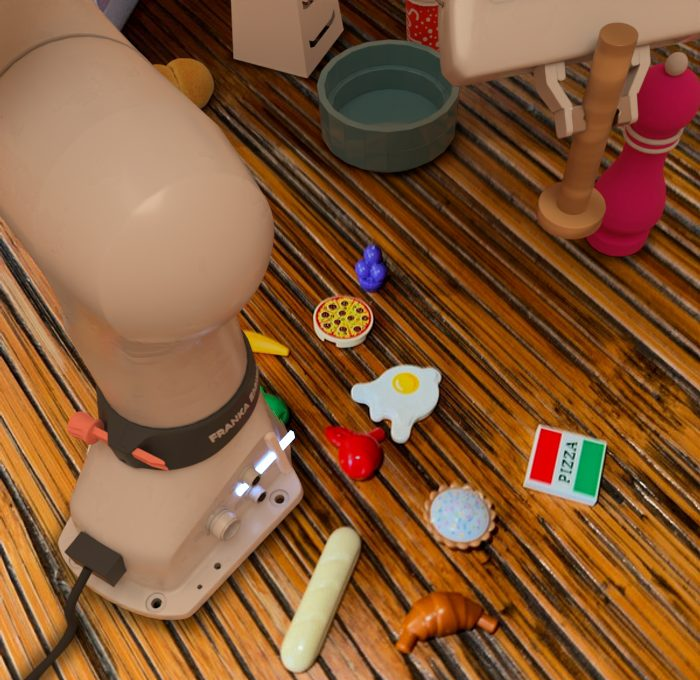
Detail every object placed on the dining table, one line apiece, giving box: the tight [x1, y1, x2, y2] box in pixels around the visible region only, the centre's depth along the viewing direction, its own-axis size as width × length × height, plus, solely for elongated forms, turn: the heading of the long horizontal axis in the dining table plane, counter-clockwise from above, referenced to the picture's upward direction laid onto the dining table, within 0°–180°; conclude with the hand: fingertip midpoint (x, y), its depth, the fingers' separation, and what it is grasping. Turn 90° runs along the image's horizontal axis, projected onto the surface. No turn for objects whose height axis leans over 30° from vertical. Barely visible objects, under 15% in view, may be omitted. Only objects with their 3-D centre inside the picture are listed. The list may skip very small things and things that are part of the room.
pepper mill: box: [585, 51, 700, 257], centre depth 71 cm, size 7×7×20 cm
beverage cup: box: [405, 0, 439, 52], centre depth 89 cm, size 6×6×14 cm
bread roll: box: [152, 57, 215, 110], centre depth 92 cm, size 8×9×4 cm
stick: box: [535, 22, 639, 240], centre depth 54 cm, size 5×5×15 cm
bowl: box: [316, 39, 461, 174], centre depth 86 cm, size 16×16×6 cm
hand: (597, 130), depth 53 cm, fingers closed on stick, 2 cm apart
